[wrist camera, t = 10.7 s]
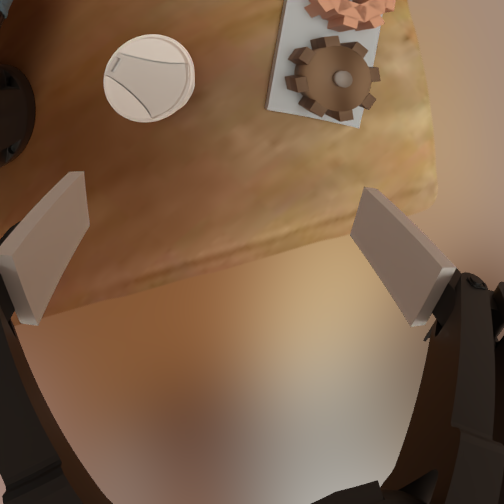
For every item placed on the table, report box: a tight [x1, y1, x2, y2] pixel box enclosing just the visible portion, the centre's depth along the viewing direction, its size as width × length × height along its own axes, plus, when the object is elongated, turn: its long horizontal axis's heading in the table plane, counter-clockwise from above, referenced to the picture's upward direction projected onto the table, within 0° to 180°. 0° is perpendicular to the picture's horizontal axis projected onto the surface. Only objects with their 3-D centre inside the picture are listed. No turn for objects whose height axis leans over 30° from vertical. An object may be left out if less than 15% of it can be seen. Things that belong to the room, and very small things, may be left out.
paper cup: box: [103, 34, 195, 122], centre depth 26 cm, size 8×8×14 cm
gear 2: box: [285, 36, 380, 122], centre depth 30 cm, size 10×10×6 cm
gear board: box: [265, 0, 383, 128], centre depth 28 cm, size 12×22×7 cm, turn 171°
